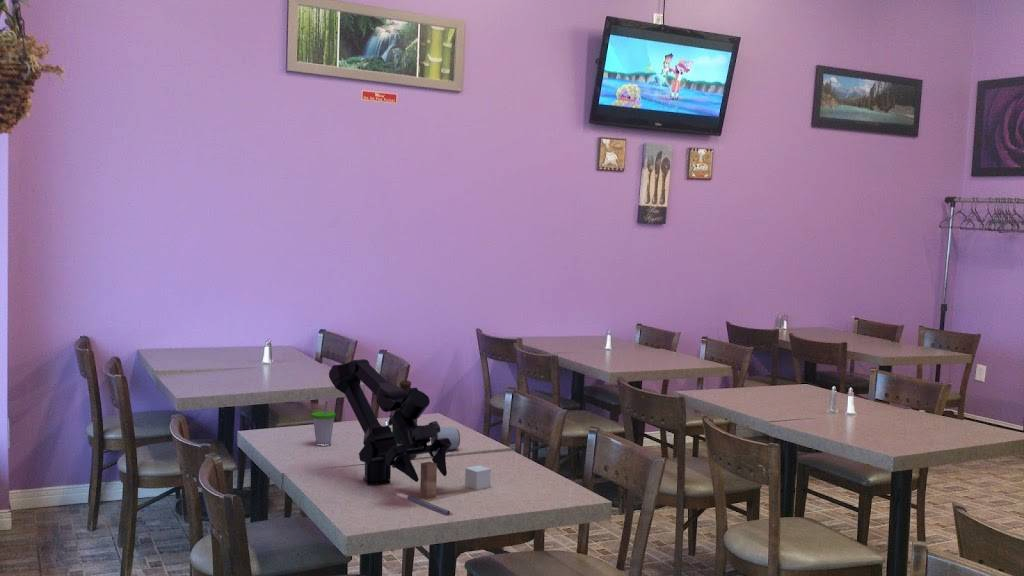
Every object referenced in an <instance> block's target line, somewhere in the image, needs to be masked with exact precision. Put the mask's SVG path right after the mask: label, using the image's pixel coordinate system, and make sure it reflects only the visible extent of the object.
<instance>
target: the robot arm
mask: <svg viewBox="0 0 1024 576" xmlns="http://www.w3.org/2000/svg"><path fill="white" fill-rule="evenodd" d="M328 377H329V379H330V382H331V383H332V385H333V386H334V388H335V389H337V390H338V391H339V392H341V393H343V394H344V395H345V398H346V399H347V401H348V403H349V405H350V407H351V409H352V411H353V413H354V415H355V417H356V418H357V419H356V420H357V421H358V423H359V426H360V427H361V429H362V431H363V434H364V435H363V441H362V444H363V447H362V448H361V450H360V452H359V453H358V456H359V457H358V458H359V461H360V462H363V463H364V476H363V478H362V480H363V481H364V483H366V485H368V486H372V485H384V484H391V472H392V471H391V469H392V468H393V469H397V470H398V471H400V472H402V473H403V474H405V475H406V476H408V477H409V478H410V479H411V480H412V481H414V482H415V483H417V482H419V476H418V474H417V472H416V469H415V467H414V465H413V463H412V459H410V456H413V455H416V456H417V455H423V454H429V455H430V457H432V458H431V460H432V461H431V462H433V463H436V464H437V470H438V471H439V472H440V473H441V475H442V476H443V477H446V476H447V475H448V473H447V471H448V470H447V463H446V462H447V461H446V456H447V455H446V454H447V452H448V451H450V450H449V448H450V447H451V445H452V443H451V441H450V440H449V438H446V437H445V438H439V439H436V440H435V441H434V442H433V443H432V445H431V444H429V443H431V437H433V436H437V433H439V432H440V427H441V426H440V424H439V422H438V421H437V420H435V421H431V422H428V424H425V425H421V424H420V425H418V422H417V423H416V421H415V419H417V420H418V419H419V418H420V417H421V416H422V415H423V413H424V412H425V411H426V409H427V408H428V407H429V405H430V398H429V395H427V394H426V393H424V392H423V391H422V390H419V389H418V387H411V388H410V390H409V391H408V393H406V392H405V391H404V390H403V389H402V388H400V386H398V385H395V384H392V383H390V382H388V381H387V380H386V379H385V378H384V377H383V376H382V375H381V374H380V373H379V372H378V371H377V370H376V369H375V368H374V367H373V366H372V365H371V364H370V362H369V360H368V359H365V358H362V359H361V358H360V359H352V360H351V361H349V362H345V363H341V364H334V365H332V367H331V368H330V370H328ZM361 382H362V384H364V385H365V386H366V388H367V389H369V390H370V391H371V392H372V393H373V395H374V396H375V403H377V405H378V406H379V408H380V409H381V411H383V412H384V413H389V412H394V413H393V414H390V415H389V419H388V422H387V425H381V424H380V422H379V420H378V417H377V416H376V414H375V412H374V411H373V408H372V406H371V403H370V402H369V400H368V398H367V397H366V394H365V393H364V391H363V389H362V386H361ZM392 425H394V426H395V428H396V430H397V432H398V434H399V438H398V441H399V443H400V442H402V443H403V445H397V443H396V440H395V438H394V437H395V435H393V433H392V428H391V427H390V426H392ZM428 444H429V445H428Z"/></svg>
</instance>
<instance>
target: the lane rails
mask: <svg viewBox="0 0 1024 576" xmlns="http://www.w3.org/2000/svg"><path fill="white" fill-rule="evenodd" d="M406 500H407V501H409V502H412V503H414V504H417V505H419V506H422V507H425V508H427V509H429V508H430V510H432V511H434V510H435V511H434V512H437V513H439V512H440V514H441V515H444V516H450V515H451V511H450V510H447V509H445V508H444V507H443V508H442V507H441V506H437V505H435V504H432V503H431V502H429V501H426V500H423V499H421V498H417V497H416V496H415V497H414V496H413V495H408V496H407V499H406Z"/></svg>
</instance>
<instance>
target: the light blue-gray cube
mask: <svg viewBox="0 0 1024 576" xmlns="http://www.w3.org/2000/svg"><path fill="white" fill-rule="evenodd" d="M464 472H465V474H464V475H465V476H464V485H465V486H467V487H470V488H473V489H475V490H478V489H482V490H484V489H483V488H487V487H490V486H492V485H491V482H492V481H491V479H492V477H491V476H492V475H491V474H492V469H491V468H489V467H486V466H483V465H480V464H479V465H475V466H469V467H465V469H464ZM487 489H488V488H487ZM478 491H479V490H478Z"/></svg>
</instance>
